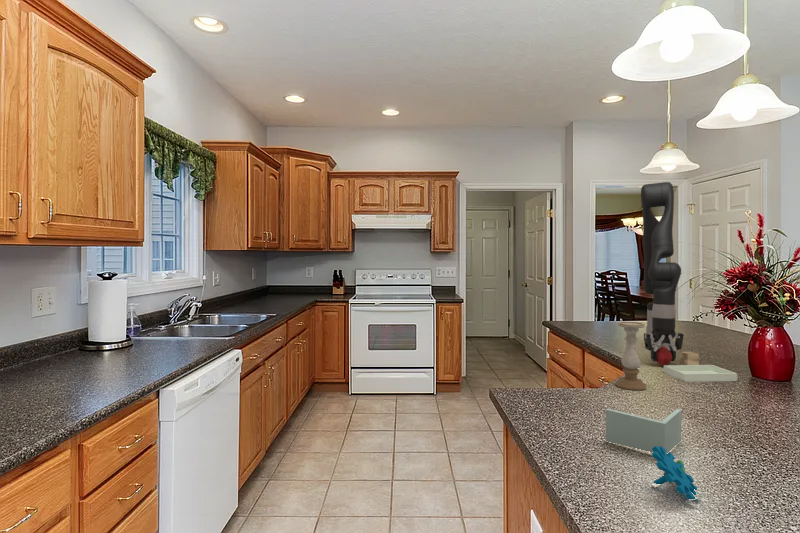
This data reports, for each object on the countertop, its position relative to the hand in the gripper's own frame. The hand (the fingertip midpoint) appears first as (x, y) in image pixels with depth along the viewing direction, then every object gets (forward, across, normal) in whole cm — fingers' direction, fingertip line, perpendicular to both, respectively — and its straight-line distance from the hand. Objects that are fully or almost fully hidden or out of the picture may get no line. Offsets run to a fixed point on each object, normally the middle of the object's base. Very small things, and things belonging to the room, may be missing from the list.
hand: (663, 360), depth 170 cm
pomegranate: (+2, 0, 0) cm, 2 cm away
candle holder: (+2, +25, +24) cm, 35 cm away
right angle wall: (+2, +44, +66) cm, 79 cm away
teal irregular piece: (+3, +50, +87) cm, 100 cm away
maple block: (+2, -10, 0) cm, 10 cm away
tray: (+2, -4, +14) cm, 15 cm away
